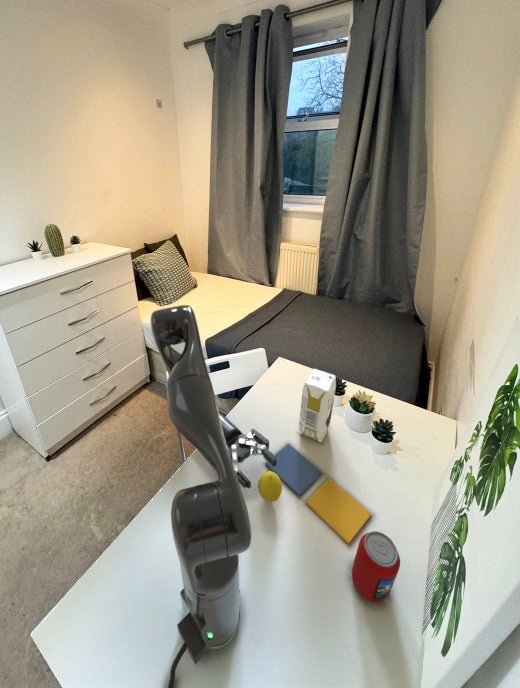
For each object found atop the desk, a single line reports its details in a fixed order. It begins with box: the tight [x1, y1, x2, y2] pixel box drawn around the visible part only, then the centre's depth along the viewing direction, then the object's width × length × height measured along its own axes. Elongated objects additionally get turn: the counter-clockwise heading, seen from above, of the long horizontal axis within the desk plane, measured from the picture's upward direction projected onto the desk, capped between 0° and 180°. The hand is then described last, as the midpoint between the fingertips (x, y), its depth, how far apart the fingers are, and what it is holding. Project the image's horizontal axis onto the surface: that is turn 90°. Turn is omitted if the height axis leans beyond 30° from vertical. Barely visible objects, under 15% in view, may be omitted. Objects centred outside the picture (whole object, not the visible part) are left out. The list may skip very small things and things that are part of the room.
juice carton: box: [298, 368, 337, 443], centre depth 91 cm, size 8×9×19 cm
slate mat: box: [265, 443, 323, 497], centre depth 84 cm, size 9×11×1 cm
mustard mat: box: [305, 477, 372, 545], centre depth 75 cm, size 9×11×1 cm
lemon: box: [257, 470, 283, 503], centre depth 76 cm, size 6×6×8 cm
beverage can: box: [351, 530, 401, 604], centre depth 60 cm, size 7×7×12 cm
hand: (263, 474), depth 77 cm, fingers open, 8 cm apart
